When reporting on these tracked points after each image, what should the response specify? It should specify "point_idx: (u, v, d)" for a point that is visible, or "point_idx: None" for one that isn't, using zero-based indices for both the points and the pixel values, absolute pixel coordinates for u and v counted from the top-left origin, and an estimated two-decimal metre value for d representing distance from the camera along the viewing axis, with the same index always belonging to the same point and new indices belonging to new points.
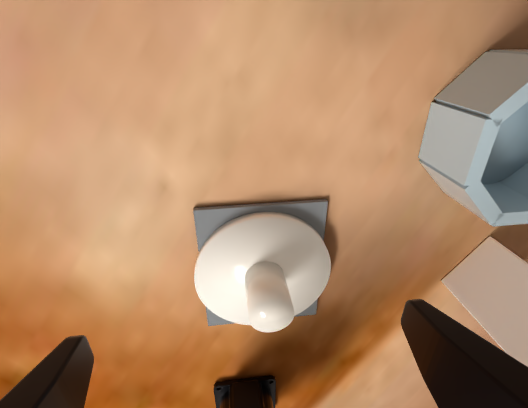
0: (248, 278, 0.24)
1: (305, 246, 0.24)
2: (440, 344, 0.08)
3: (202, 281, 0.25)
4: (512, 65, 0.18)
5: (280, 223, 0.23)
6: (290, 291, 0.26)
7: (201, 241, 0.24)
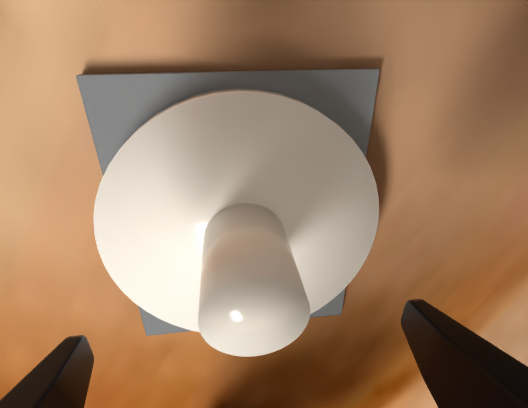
0: (207, 236, 0.11)
1: (329, 169, 0.11)
2: (440, 344, 0.08)
3: (114, 246, 0.12)
4: None
5: (276, 110, 0.10)
6: None
7: (107, 158, 0.11)
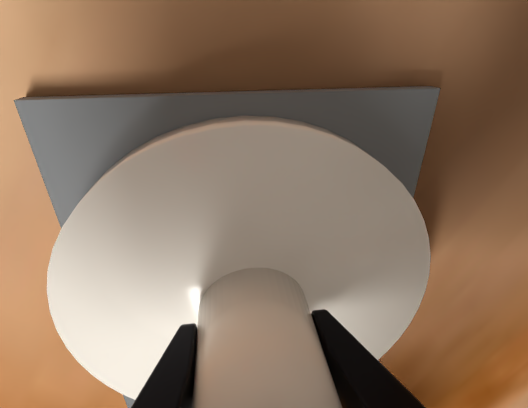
0: (202, 318, 0.08)
1: (368, 223, 0.08)
2: (329, 358, 0.07)
3: (78, 324, 0.09)
4: None
5: (299, 148, 0.07)
6: None
7: (66, 208, 0.08)
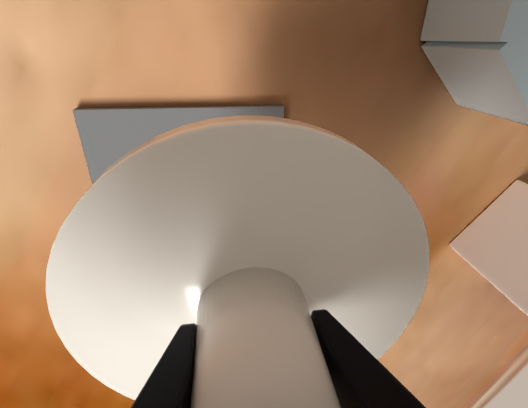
0: (201, 317, 0.08)
1: (367, 223, 0.08)
2: (329, 358, 0.07)
3: (77, 324, 0.09)
4: None
5: (299, 147, 0.07)
6: None
7: (93, 165, 0.16)
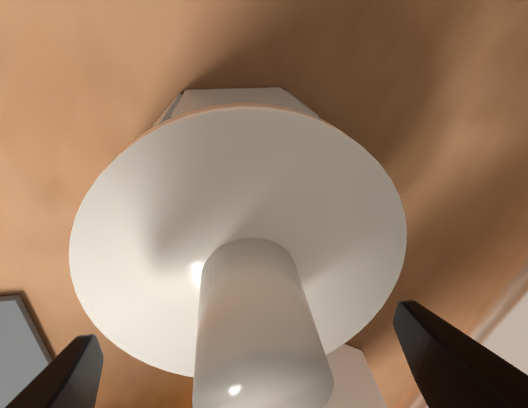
0: (204, 279, 0.09)
1: (350, 198, 0.10)
2: (431, 345, 0.08)
3: (94, 288, 0.10)
4: (155, 125, 0.11)
5: (288, 130, 0.08)
6: (309, 309, 0.12)
7: None
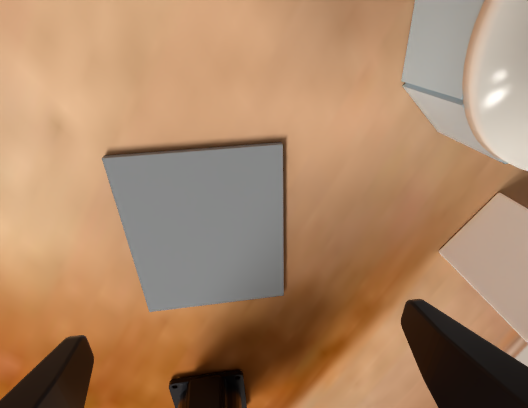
0: None
1: None
2: (440, 344, 0.08)
3: (503, 41, 0.11)
4: None
5: None
6: None
7: (120, 201, 0.19)
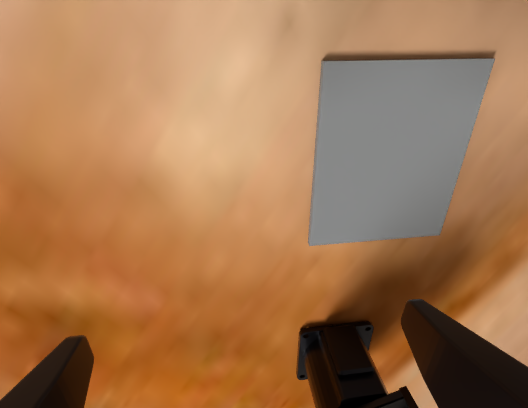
0: None
1: None
2: (440, 344, 0.08)
3: None
4: None
5: None
6: None
7: (325, 113, 0.18)
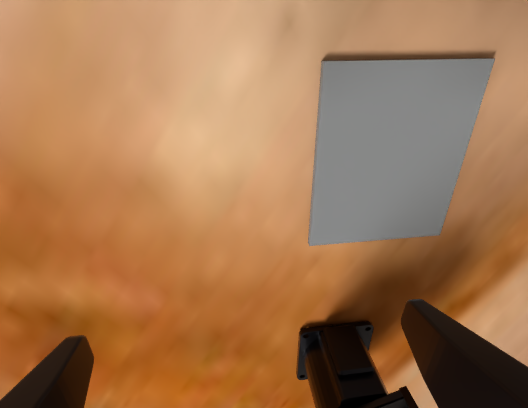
0: None
1: None
2: (440, 344, 0.08)
3: None
4: None
5: None
6: None
7: (325, 113, 0.18)
